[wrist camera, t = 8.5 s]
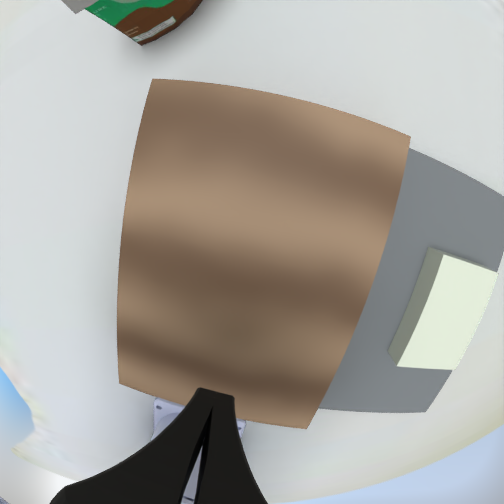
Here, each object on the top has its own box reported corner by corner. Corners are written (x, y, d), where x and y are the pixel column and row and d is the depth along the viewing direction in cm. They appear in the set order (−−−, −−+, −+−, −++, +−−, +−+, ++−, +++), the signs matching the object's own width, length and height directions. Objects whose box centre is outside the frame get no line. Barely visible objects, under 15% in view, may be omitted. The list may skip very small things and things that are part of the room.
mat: (423, 408, 20) (425, 412, 20) (309, 403, 20) (310, 407, 20) (511, 202, 15) (514, 203, 15) (396, 144, 15) (399, 144, 15)
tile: (396, 366, 16) (387, 350, 18) (454, 369, 16) (444, 356, 18) (443, 254, 14) (428, 246, 16) (498, 273, 14) (483, 265, 16)
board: (303, 402, 20) (306, 428, 18) (134, 361, 21) (119, 383, 18) (389, 142, 15) (410, 136, 12) (170, 92, 15) (152, 78, 13)
